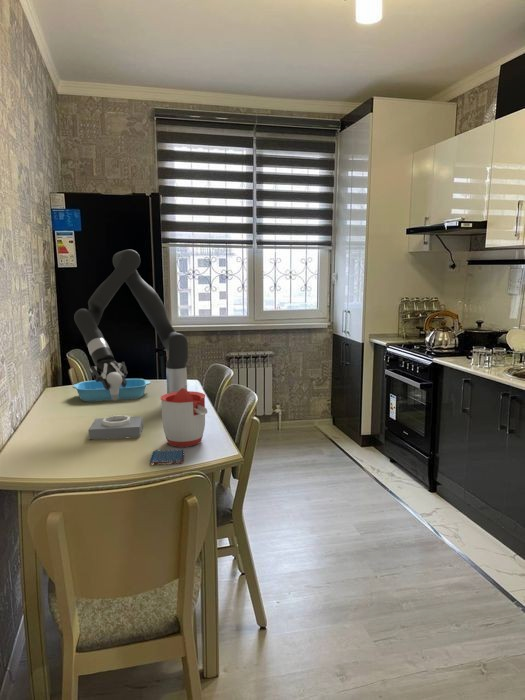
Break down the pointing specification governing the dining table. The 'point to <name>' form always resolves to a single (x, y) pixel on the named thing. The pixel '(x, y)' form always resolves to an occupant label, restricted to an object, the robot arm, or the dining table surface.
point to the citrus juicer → (183, 417)
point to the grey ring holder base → (116, 427)
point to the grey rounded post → (114, 384)
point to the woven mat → (167, 456)
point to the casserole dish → (99, 393)
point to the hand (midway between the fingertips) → (116, 387)
